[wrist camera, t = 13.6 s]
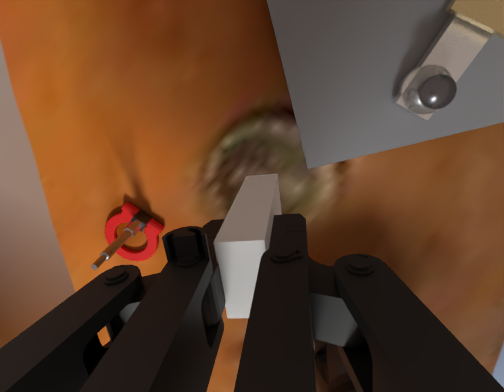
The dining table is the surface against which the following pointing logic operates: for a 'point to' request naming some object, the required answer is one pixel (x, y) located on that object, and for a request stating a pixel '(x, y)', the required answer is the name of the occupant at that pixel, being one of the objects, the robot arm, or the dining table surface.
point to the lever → (441, 68)
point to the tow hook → (129, 235)
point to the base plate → (374, 75)
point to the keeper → (480, 14)
